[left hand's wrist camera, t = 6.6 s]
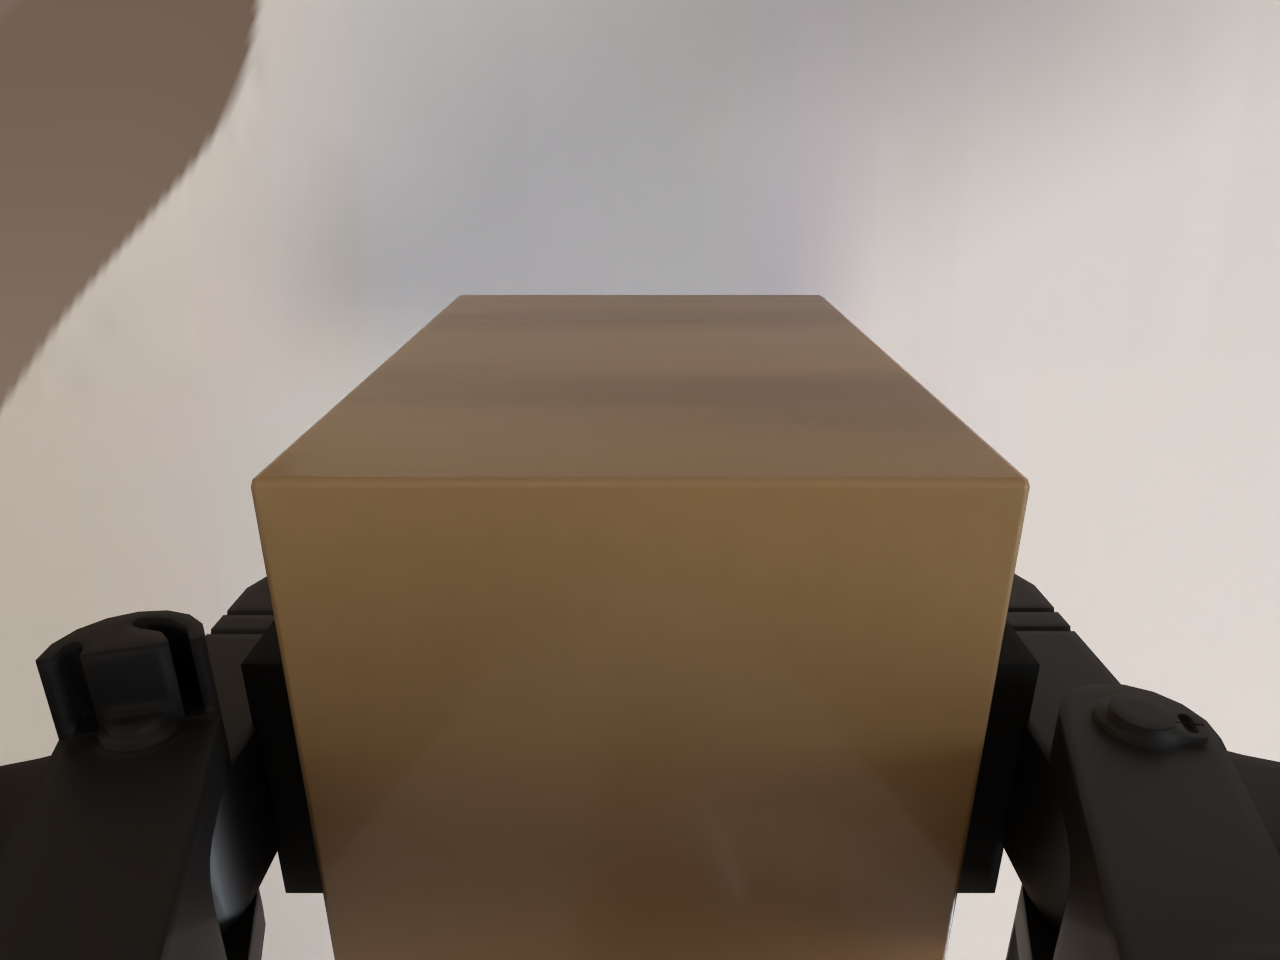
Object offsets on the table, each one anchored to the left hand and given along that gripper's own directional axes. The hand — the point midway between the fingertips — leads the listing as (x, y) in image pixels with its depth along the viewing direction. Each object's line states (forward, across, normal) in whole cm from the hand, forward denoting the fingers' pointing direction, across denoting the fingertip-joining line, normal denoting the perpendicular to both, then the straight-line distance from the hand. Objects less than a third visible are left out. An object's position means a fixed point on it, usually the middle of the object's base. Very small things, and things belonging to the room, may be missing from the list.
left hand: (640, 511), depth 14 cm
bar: (+1, 0, -12) cm, 12 cm away
